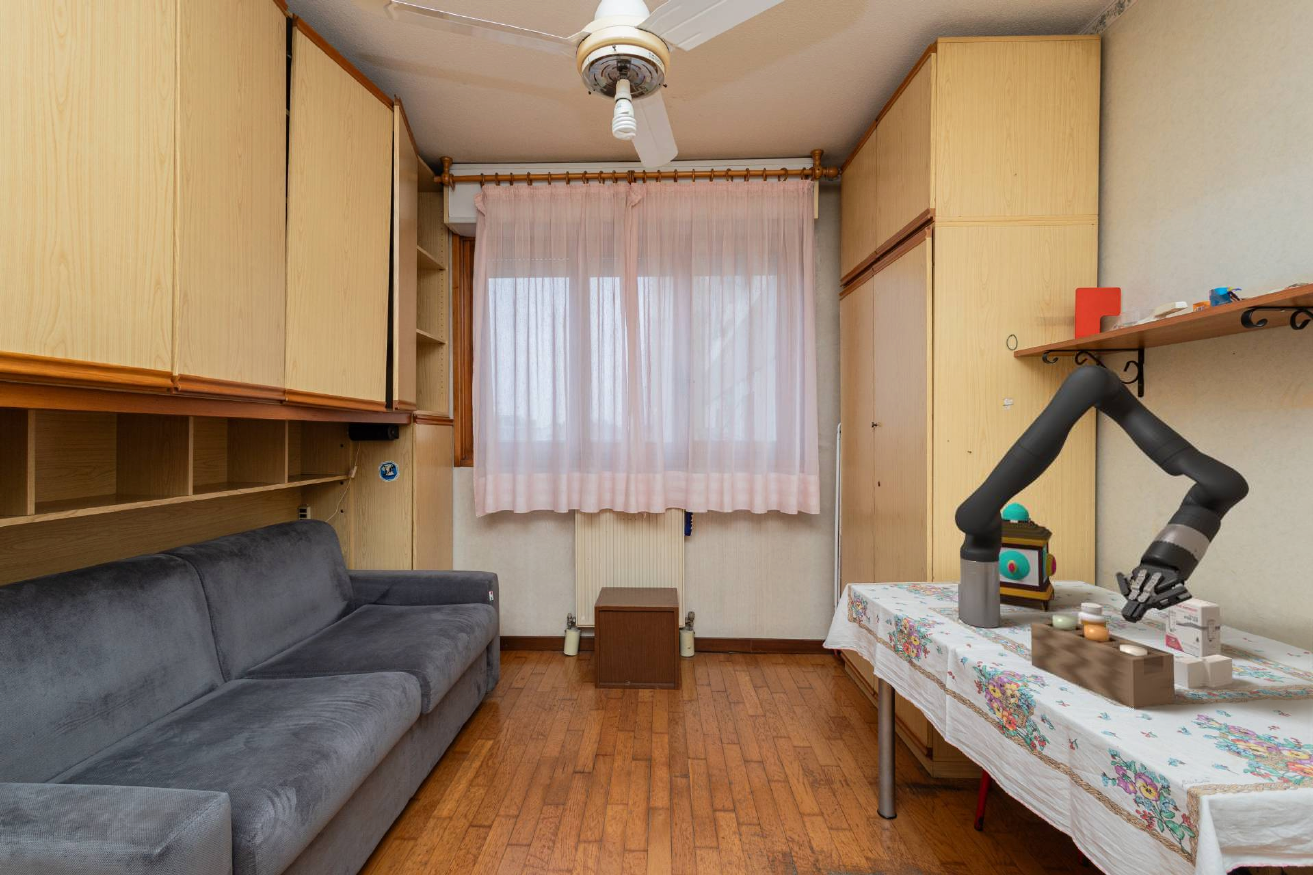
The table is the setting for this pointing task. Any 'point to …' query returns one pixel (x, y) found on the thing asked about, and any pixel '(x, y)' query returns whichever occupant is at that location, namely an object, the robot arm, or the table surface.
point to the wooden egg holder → (1105, 665)
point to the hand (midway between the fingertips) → (1128, 619)
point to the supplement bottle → (1091, 615)
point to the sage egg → (1064, 623)
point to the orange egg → (1096, 633)
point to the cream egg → (1133, 650)
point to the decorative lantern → (1025, 558)
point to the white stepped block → (1203, 671)
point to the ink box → (1194, 627)
